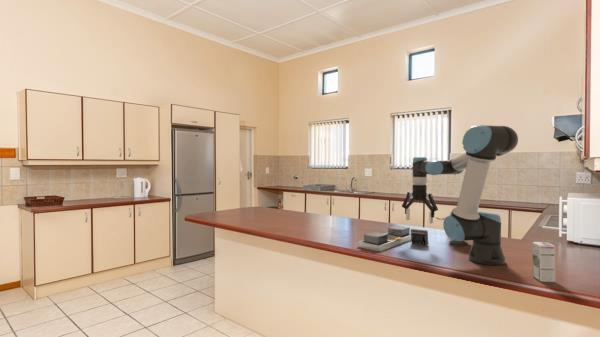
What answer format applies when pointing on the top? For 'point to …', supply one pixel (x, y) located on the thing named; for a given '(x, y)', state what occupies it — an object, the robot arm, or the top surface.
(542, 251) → the syrup box
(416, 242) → the electrical switch
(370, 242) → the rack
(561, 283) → the top surface
